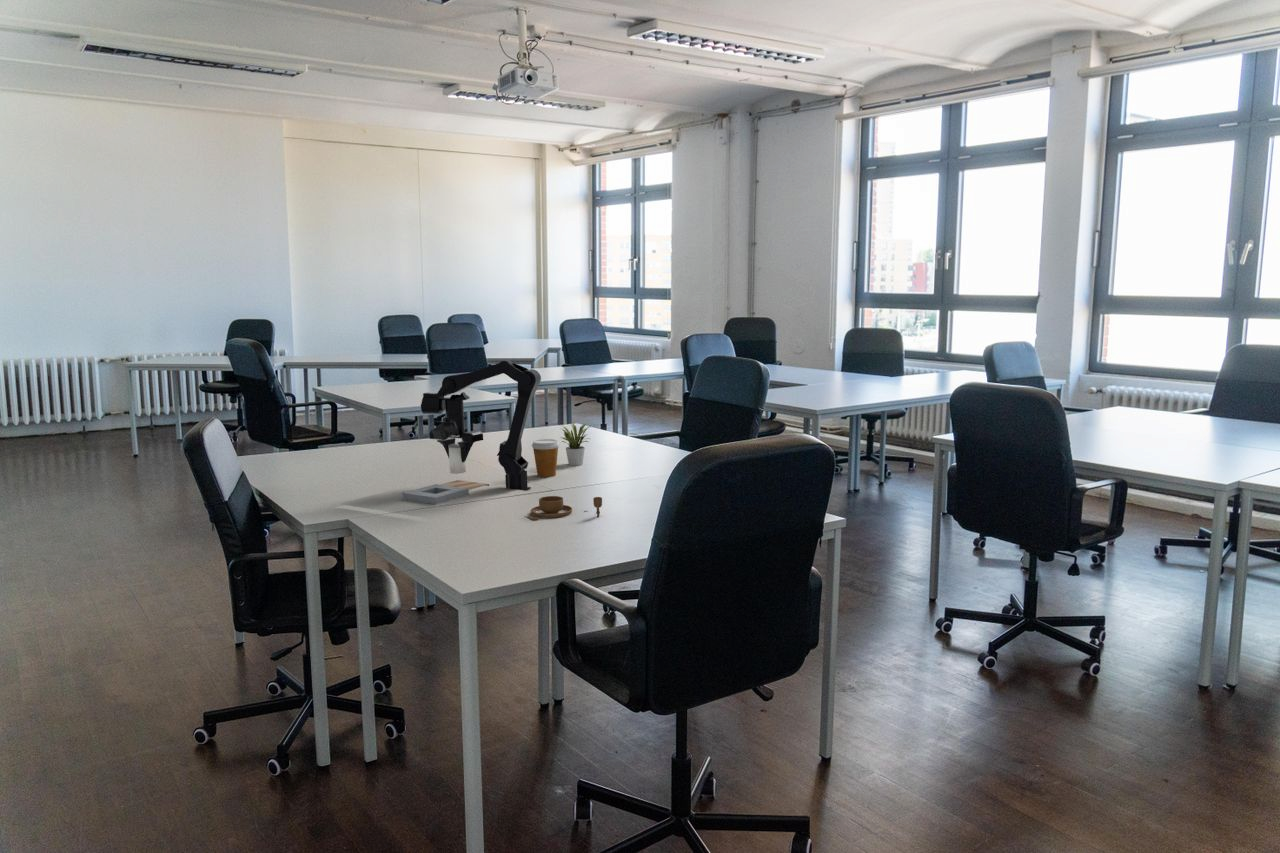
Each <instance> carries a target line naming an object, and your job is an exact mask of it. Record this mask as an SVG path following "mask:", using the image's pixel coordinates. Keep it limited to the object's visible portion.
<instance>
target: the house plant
mask: <svg viewBox="0 0 1280 853" xmlns="http://www.w3.org/2000/svg"><path fill="white" fill-rule="evenodd" d="M587 424H589V422H585V423H583V424H582V425H581V426H580V427H579V429H578V430H577V426H576V425H575V424H574V422H572V423H571V424H570V426H571V430H570V431H569V429H568V428H567V427H566V426H564V425H562V424H560V426H561V427H563V428H561V430H562V431H563V435H564V437H560V439H563V441H561V443H565V444H567V445H568V446H566V447H565V451H566V452H565V453H566V457H567V462H568V466H572V465H577V466H583V464H584V458H585V450H586V449H585V448H586V447H585V446H583V445H581V444H583V443H585V442H587V443H589V441H588V440H591V438H590V437H587V438H586V436H587V435H589V434H588V433H586V431H587V430H588V429H589V428H591V427H593V426H596V424H594V425H590V426H588V427H586V425H587ZM585 427H586V428H585ZM585 433H586V434H585ZM586 439H587V440H586ZM564 440H565V441H564ZM566 441H567V442H566Z"/></svg>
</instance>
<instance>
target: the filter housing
mask: <svg viewBox="0 0 1280 853" xmlns="http://www.w3.org/2000/svg"><path fill="white" fill-rule="evenodd" d="M469 492H470V490H469V489H468V488H460V487H453V486H446V485H441V484H439V483H438V484H436V483H435V484H431V485H427V486H424V487H420V488H416V489H413V490H409V491H405V492H404V491H403V492H402V499H403V500H404V499H406V500H405V501H411V502H417V503H419V502H420V503H424V504H432V505H440V504H442V503H446V502H450V501H452V500H456V499H459V498H460V499H461V498H463V497H467V496H469V495H470V493H469Z"/></svg>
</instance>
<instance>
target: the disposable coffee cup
mask: <svg viewBox="0 0 1280 853" xmlns="http://www.w3.org/2000/svg"><path fill="white" fill-rule="evenodd" d="M559 446H560V443H559V440H558V439H552V438H551V439H550V438H548V439H546V438H545V439H543V438H542V439H535V440H533V441H532V444H531V447H532V451H533V455H534V460H535V463H534V464H535V468H536V473H537V474H536V475H537V476H538V477H539V476H540V478H552V477H555V476H556V475H557V466H558V464H557V463H558V454H559V453H558V452H559ZM551 476H552V477H551Z"/></svg>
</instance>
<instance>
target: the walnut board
mask: <svg viewBox="0 0 1280 853" xmlns="http://www.w3.org/2000/svg"><path fill="white" fill-rule="evenodd" d="M440 485H446V486H453V487H460V488H468V489H469V491H470V490H473V489H477V488H480V487H485V486H486V487H490V484H489V483H482V482H476V481H467V480H461V479H457V480H453V481H449V482H445V483H441V484H440Z"/></svg>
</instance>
